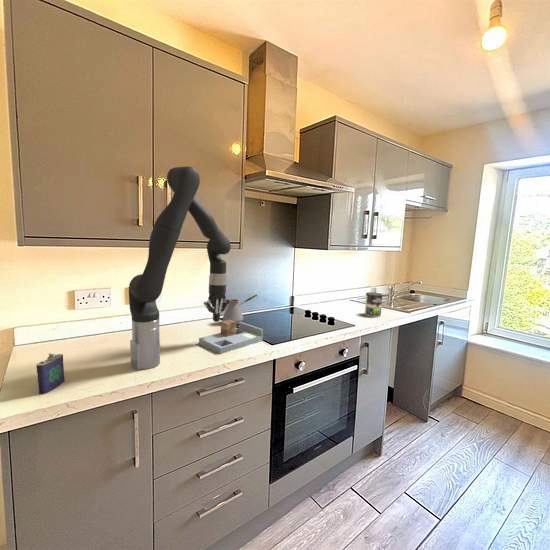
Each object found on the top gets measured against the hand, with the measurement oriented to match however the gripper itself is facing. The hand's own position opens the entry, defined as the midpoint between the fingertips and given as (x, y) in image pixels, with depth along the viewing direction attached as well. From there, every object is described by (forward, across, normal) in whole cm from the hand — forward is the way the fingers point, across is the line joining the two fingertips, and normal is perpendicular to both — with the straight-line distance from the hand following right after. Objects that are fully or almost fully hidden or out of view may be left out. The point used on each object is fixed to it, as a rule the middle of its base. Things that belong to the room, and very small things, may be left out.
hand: (216, 321), depth 135 cm
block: (+7, +7, 0) cm, 10 cm away
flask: (+12, -60, +1) cm, 61 cm away
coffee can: (+7, +105, -25) cm, 109 cm away
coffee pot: (+9, +30, +17) cm, 36 cm away
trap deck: (+10, +6, -4) cm, 12 cm away
